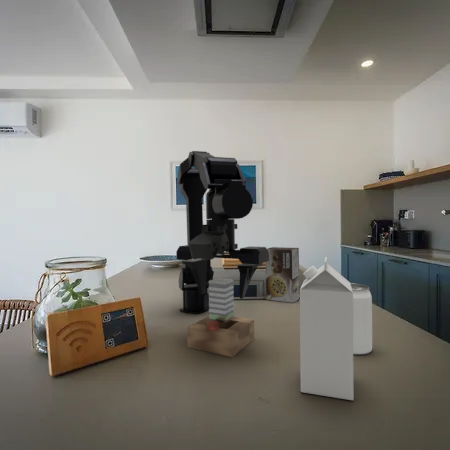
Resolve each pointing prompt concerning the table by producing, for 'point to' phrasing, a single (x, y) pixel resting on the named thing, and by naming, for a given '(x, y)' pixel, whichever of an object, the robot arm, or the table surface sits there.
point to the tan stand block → (221, 335)
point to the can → (362, 319)
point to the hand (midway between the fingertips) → (221, 295)
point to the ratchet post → (221, 300)
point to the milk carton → (326, 333)
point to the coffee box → (282, 274)
